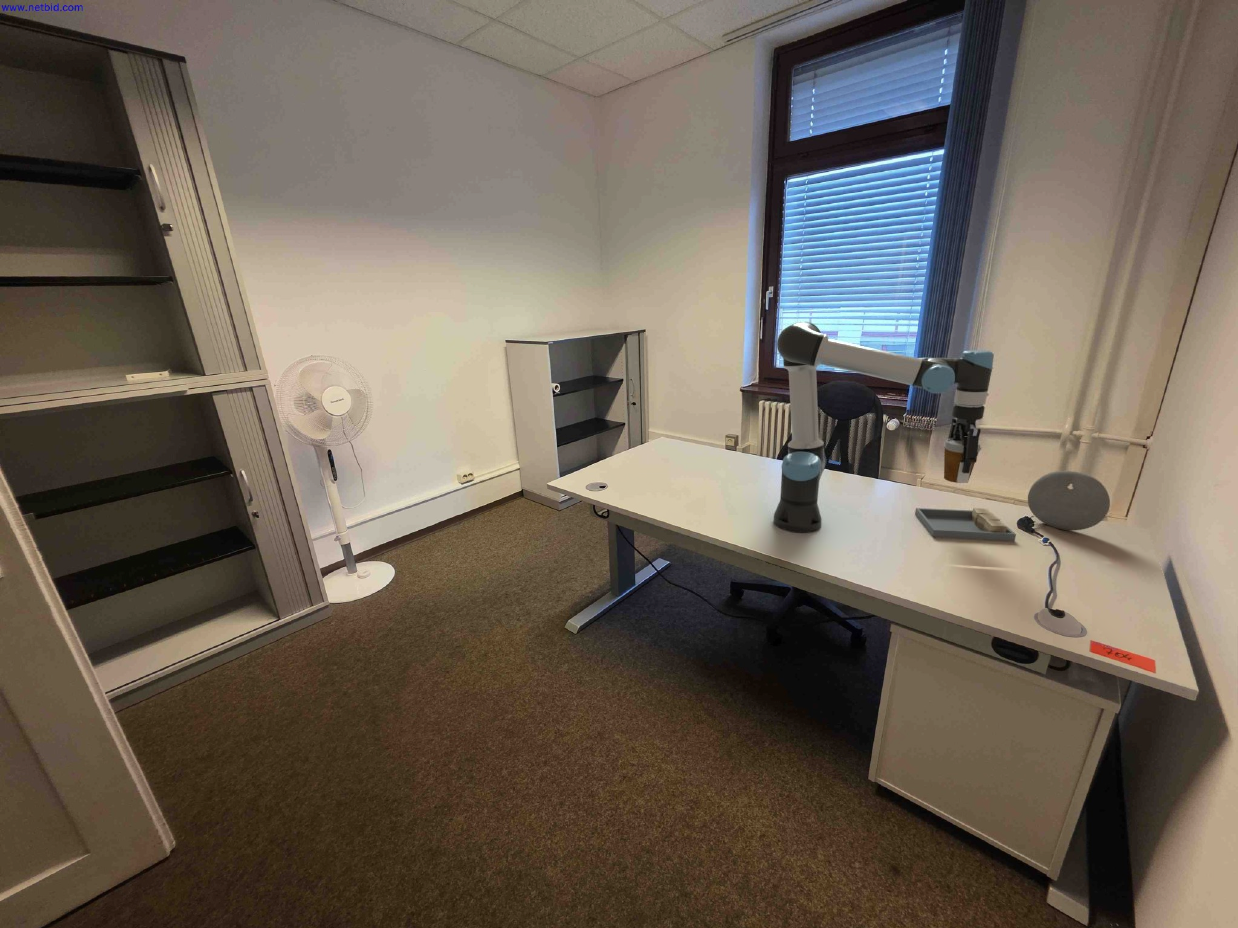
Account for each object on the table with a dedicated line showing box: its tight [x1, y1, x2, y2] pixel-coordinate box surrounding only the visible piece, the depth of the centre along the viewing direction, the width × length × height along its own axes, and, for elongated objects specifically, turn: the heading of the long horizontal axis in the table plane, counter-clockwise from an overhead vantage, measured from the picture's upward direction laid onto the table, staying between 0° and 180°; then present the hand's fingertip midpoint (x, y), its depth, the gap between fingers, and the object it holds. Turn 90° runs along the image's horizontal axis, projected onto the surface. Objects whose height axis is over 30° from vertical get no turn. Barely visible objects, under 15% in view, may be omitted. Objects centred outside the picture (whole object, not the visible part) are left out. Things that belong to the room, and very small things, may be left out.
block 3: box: [983, 520, 1008, 533], centre depth 148 cm, size 4×4×4 cm
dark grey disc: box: [1027, 470, 1111, 531], centre depth 149 cm, size 18×7×19 cm, turn 44°
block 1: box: [971, 507, 993, 524], centre depth 157 cm, size 4×4×4 cm
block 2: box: [976, 513, 1001, 530], centre depth 152 cm, size 4×4×4 cm
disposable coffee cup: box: [943, 438, 982, 484], centre depth 149 cm, size 10×10×12 cm
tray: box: [914, 507, 1017, 543], centre depth 154 cm, size 22×17×3 cm
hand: (956, 477), depth 150 cm, fingers closed on disposable coffee cup, 8 cm apart
